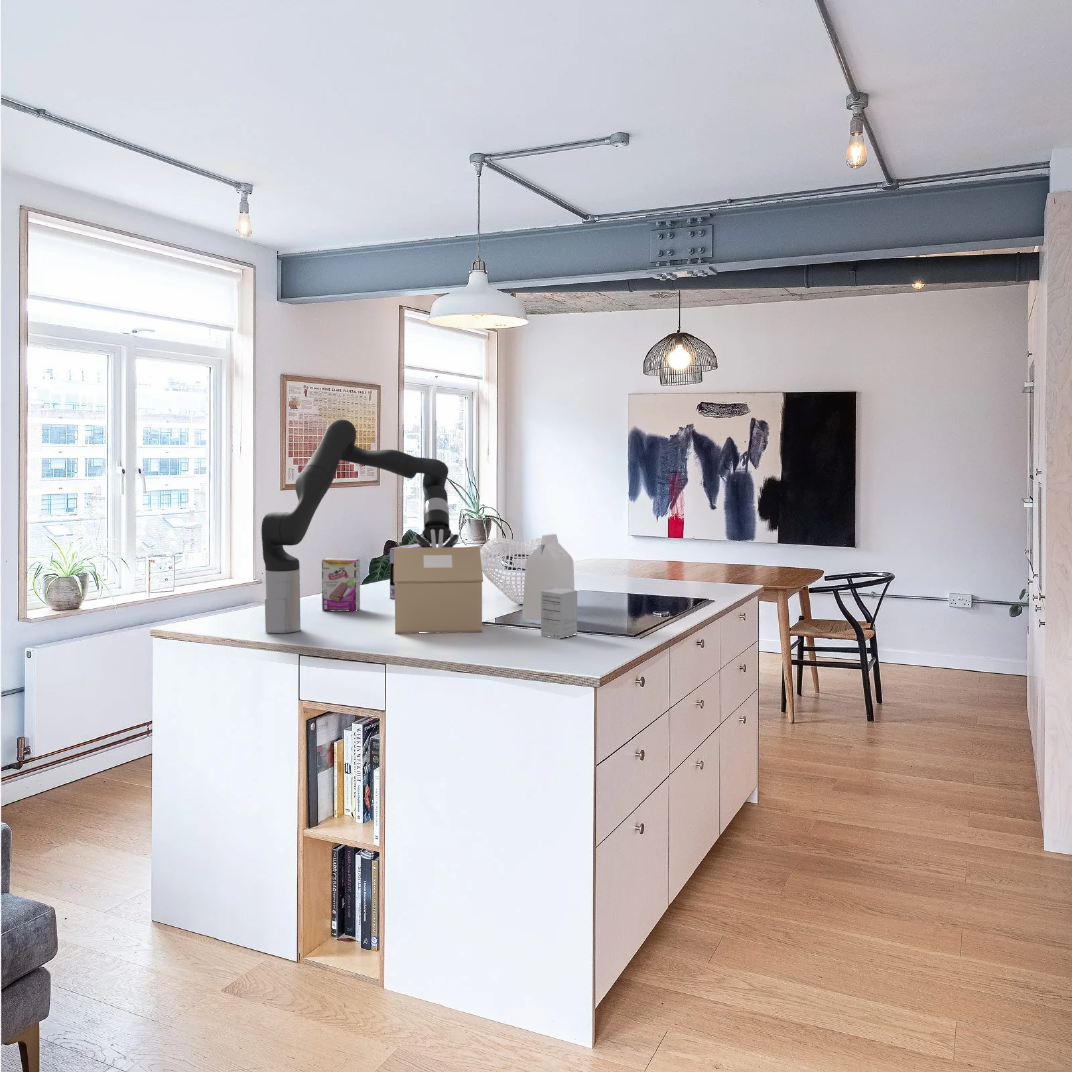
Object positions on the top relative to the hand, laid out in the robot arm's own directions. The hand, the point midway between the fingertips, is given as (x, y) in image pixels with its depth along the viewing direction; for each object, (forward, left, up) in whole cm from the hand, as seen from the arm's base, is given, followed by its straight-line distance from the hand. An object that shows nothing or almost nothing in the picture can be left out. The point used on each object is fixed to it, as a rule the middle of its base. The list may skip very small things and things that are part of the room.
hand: (437, 561), depth 274 cm
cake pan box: (+51, +30, -19) cm, 62 cm away
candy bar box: (+17, +39, -19) cm, 46 cm away
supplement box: (-5, -37, -19) cm, 42 cm away
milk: (+16, -29, -19) cm, 38 cm away
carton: (-3, -1, -19) cm, 19 cm away
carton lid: (-4, -2, 0) cm, 5 cm away
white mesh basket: (+43, -13, -19) cm, 48 cm away
